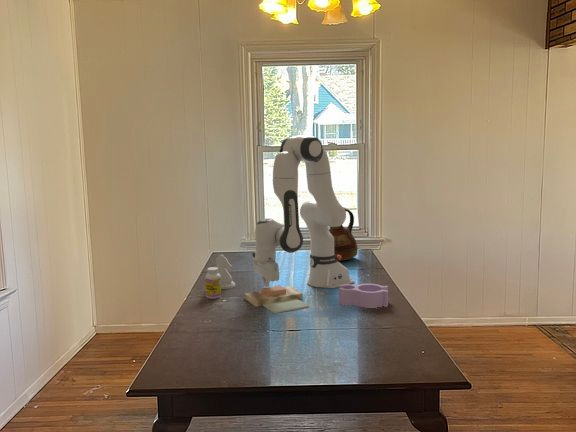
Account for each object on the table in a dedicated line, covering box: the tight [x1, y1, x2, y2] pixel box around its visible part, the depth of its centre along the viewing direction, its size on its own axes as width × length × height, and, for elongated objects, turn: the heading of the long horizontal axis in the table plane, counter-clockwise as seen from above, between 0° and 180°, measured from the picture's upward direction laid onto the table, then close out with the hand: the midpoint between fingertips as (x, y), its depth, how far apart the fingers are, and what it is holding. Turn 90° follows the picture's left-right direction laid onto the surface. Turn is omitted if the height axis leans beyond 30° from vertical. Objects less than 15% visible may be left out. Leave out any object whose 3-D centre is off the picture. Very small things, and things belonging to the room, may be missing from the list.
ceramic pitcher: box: [328, 206, 358, 262], centre depth 283 cm, size 20×20×30 cm
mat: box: [262, 298, 310, 314], centre depth 209 cm, size 16×11×1 cm
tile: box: [260, 285, 286, 297], centre depth 218 cm, size 9×6×2 cm, turn 117°
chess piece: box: [215, 254, 236, 290], centre depth 237 cm, size 10×10×15 cm
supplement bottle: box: [205, 266, 222, 300], centre depth 221 cm, size 7×7×13 cm
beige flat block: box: [244, 285, 304, 308], centre depth 219 cm, size 22×12×2 cm, turn 117°
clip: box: [338, 283, 389, 309], centre depth 211 cm, size 20×12×7 cm, turn 80°
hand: (266, 286), depth 225 cm, fingers closed
